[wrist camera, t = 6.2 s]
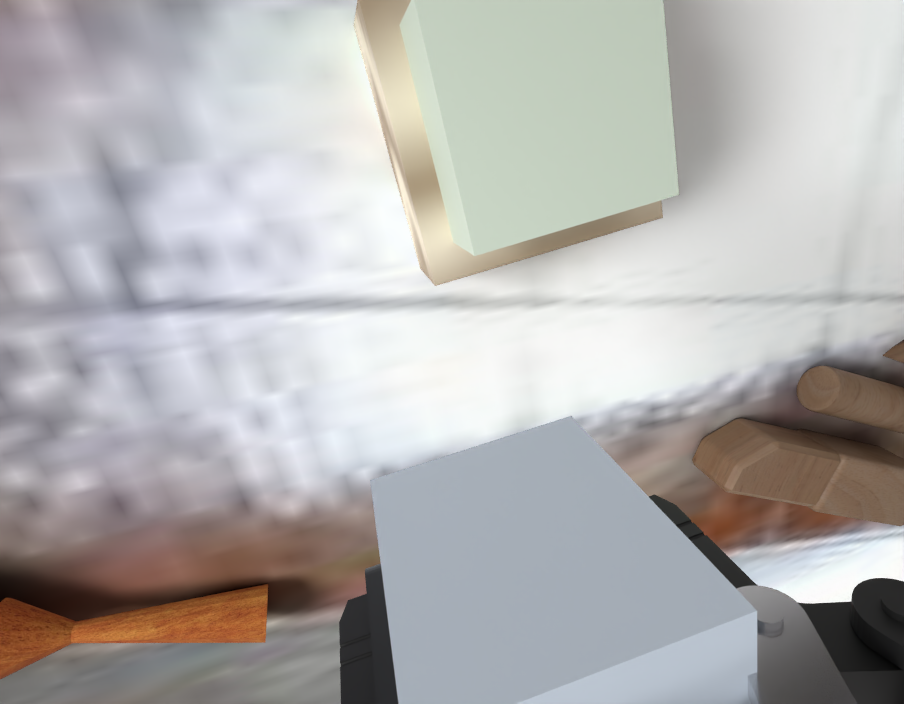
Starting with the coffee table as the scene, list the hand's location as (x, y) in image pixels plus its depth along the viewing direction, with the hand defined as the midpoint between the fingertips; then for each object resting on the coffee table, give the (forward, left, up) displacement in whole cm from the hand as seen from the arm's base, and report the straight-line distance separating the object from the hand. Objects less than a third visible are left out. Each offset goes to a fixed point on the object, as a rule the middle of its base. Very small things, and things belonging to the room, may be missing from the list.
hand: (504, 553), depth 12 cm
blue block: (0, 0, -1) cm, 1 cm away
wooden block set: (+14, +29, -20) cm, 38 cm away
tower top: (-9, +8, -15) cm, 19 cm away
